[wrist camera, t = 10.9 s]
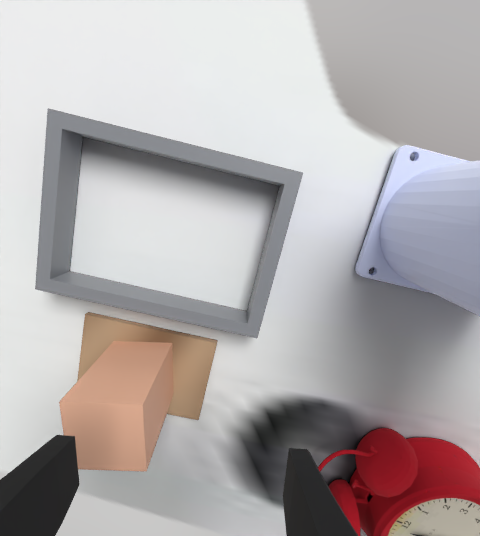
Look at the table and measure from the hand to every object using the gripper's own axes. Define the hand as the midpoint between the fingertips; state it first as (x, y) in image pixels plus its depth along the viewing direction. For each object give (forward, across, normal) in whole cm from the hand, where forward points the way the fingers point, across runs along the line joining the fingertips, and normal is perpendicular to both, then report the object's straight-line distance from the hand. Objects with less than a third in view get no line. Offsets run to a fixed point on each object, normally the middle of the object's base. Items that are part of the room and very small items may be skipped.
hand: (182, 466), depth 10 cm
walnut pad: (+10, +5, +3) cm, 12 cm away
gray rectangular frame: (+10, +3, -7) cm, 13 cm away
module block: (+10, +5, +3) cm, 11 cm away
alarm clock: (+11, -15, +12) cm, 22 cm away
